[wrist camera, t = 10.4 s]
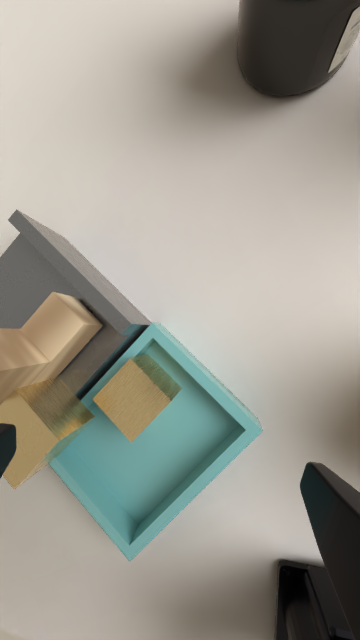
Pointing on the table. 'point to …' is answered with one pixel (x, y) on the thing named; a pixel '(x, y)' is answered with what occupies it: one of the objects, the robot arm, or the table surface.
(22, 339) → the light brown t-shaped block
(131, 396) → the brass block
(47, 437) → the brass block
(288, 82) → the ink bottle
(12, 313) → the grey tray
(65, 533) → the table surface
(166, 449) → the teal tray
